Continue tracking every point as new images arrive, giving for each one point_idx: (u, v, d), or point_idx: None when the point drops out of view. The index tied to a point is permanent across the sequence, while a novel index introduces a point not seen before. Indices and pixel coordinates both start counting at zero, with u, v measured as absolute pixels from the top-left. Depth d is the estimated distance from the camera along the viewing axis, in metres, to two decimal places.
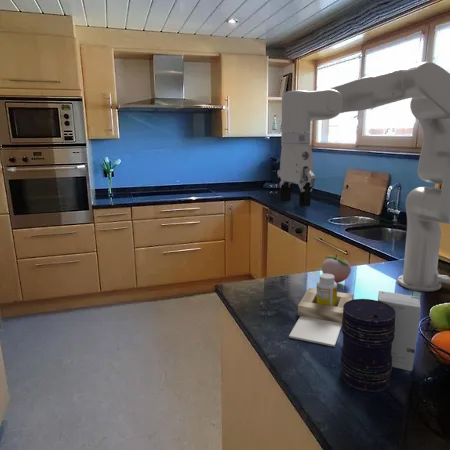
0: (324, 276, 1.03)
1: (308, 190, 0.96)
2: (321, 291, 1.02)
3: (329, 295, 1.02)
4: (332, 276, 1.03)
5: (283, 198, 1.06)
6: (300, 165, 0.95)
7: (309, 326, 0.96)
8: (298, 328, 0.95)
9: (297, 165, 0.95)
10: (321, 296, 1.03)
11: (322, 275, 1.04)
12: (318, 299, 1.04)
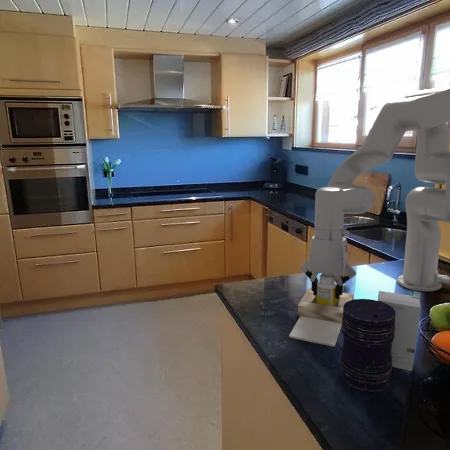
0: (324, 276, 1.03)
1: None
2: (321, 291, 1.02)
3: (329, 295, 1.02)
4: (332, 276, 1.03)
5: (316, 292, 1.05)
6: (345, 259, 0.98)
7: (309, 326, 0.96)
8: (298, 328, 0.95)
9: (343, 259, 0.98)
10: (321, 296, 1.03)
11: (322, 275, 1.04)
12: (318, 299, 1.04)
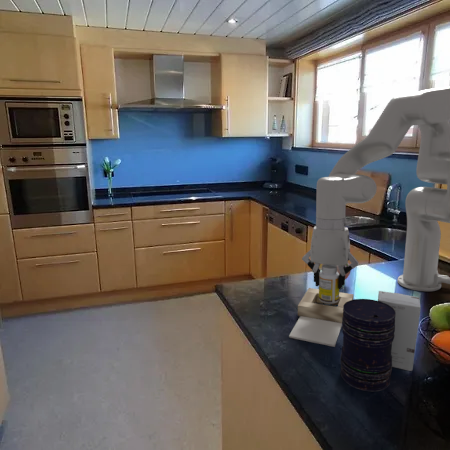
0: (326, 267, 1.02)
1: None
2: (324, 281, 1.02)
3: (332, 286, 1.01)
4: (334, 266, 1.02)
5: (318, 283, 1.04)
6: (347, 249, 0.98)
7: (309, 326, 0.96)
8: (298, 328, 0.95)
9: (345, 249, 0.98)
10: (323, 286, 1.02)
11: (324, 266, 1.03)
12: (320, 290, 1.03)
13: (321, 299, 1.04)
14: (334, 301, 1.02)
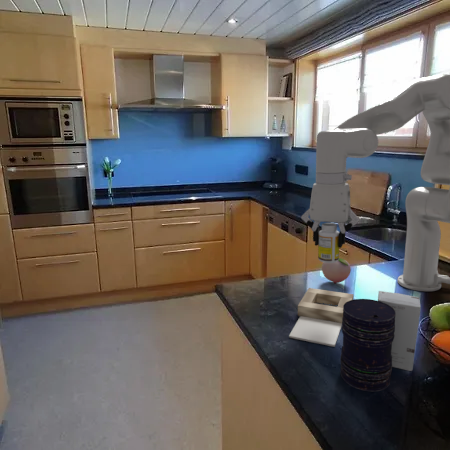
0: (326, 225, 0.99)
1: (346, 230, 0.98)
2: (323, 239, 0.99)
3: (332, 244, 0.98)
4: (334, 224, 0.99)
5: (317, 242, 1.01)
6: (348, 204, 0.95)
7: (309, 326, 0.96)
8: (298, 328, 0.95)
9: (345, 204, 0.95)
10: (323, 245, 0.99)
11: (324, 224, 1.00)
12: (320, 249, 1.00)
13: (320, 258, 1.01)
14: (334, 260, 0.99)
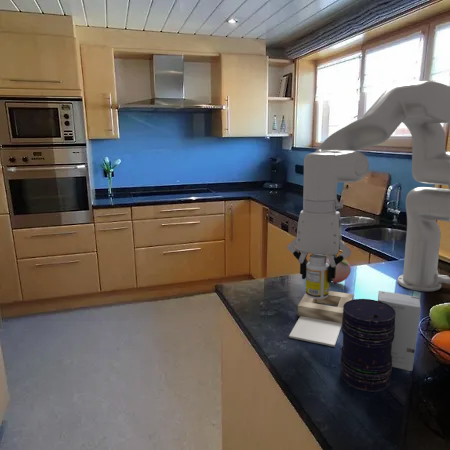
0: (314, 256, 0.89)
1: None
2: (311, 273, 0.88)
3: (320, 278, 0.88)
4: (324, 256, 0.89)
5: (305, 275, 0.91)
6: (338, 235, 0.85)
7: (309, 326, 0.96)
8: (298, 328, 0.95)
9: (335, 236, 0.85)
10: (310, 279, 0.89)
11: (312, 255, 0.90)
12: (307, 283, 0.90)
13: (308, 294, 0.90)
14: (322, 296, 0.89)
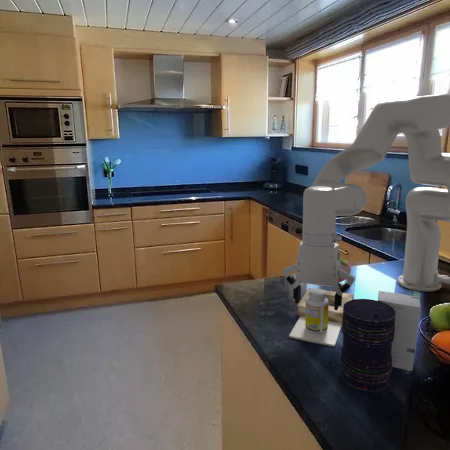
0: (313, 292, 0.91)
1: None
2: (311, 308, 0.91)
3: (320, 314, 0.90)
4: (323, 292, 0.91)
5: (298, 300, 0.94)
6: (337, 268, 0.87)
7: None
8: (298, 328, 0.95)
9: (334, 268, 0.86)
10: (310, 314, 0.91)
11: (312, 291, 0.92)
12: (307, 318, 0.92)
13: (308, 328, 0.93)
14: (322, 331, 0.92)
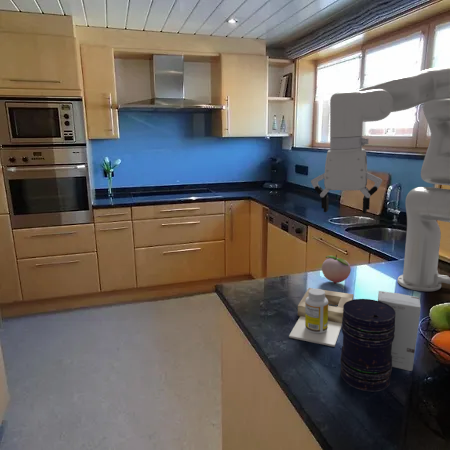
0: (313, 292, 0.91)
1: None
2: (310, 308, 0.91)
3: (320, 314, 0.90)
4: (322, 292, 0.91)
5: (326, 208, 0.97)
6: (365, 170, 0.90)
7: None
8: (298, 328, 0.95)
9: (362, 170, 0.90)
10: (310, 314, 0.91)
11: (311, 291, 0.92)
12: (307, 318, 0.92)
13: (308, 328, 0.93)
14: (322, 331, 0.92)
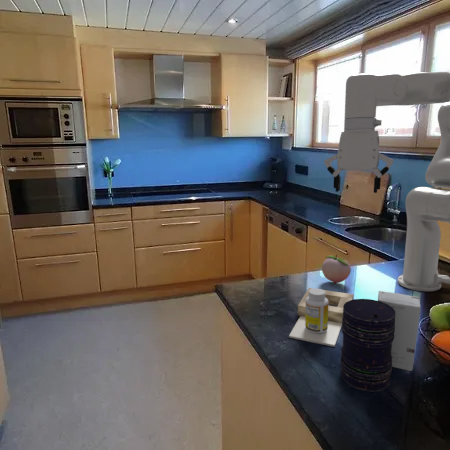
0: (313, 292, 0.91)
1: (382, 175, 0.96)
2: (310, 308, 0.91)
3: (320, 314, 0.90)
4: (323, 292, 0.92)
5: (338, 188, 1.01)
6: (377, 150, 0.94)
7: None
8: (298, 328, 0.95)
9: (375, 150, 0.93)
10: (310, 314, 0.91)
11: (311, 291, 0.92)
12: (307, 318, 0.92)
13: (308, 328, 0.93)
14: (322, 331, 0.92)
